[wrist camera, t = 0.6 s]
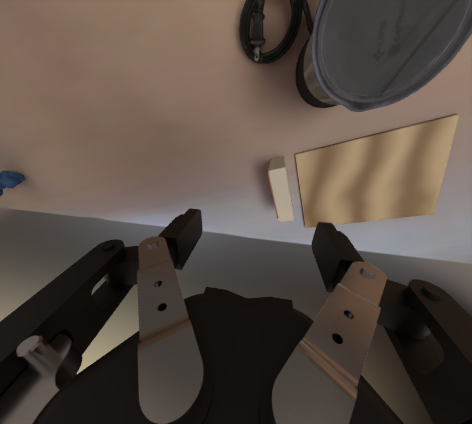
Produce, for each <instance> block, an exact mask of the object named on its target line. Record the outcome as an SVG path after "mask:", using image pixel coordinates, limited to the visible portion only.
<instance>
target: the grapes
mask: <svg viewBox="0 0 472 424" xmlns="http://www.w3.org/2000/svg"><path fill="white" fill-rule="evenodd" d="M23 180H24V176H22V175H20V174H17V173H13V172H8V171H2V172H1V173H0V196H1V195H2V194H3V189H4V188H6V187H8V188H14V187H15V186H16V185H17V184H20V183H21V182H22V181H23Z"/></svg>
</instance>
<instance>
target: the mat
mask: <svg viewBox="0 0 472 424" xmlns="http://www.w3.org/2000/svg"><path fill="white" fill-rule="evenodd" d="M458 118H459V114H455V115H451V116H446V117H442V118H438V119H434V120H430V121H426V122H422V123H418V124H414V125H410V126H406V127H402V128H398V129H394V130H390V131H386V132H382V133H378V134H374V135H370V136H366V137H361V138H357V139H353V140H349V141H345V142H341V143H337V144H333V145H329V146H325V147H321V148H317V149H313V150H309V151H305V152H301V153H297V154H295V156H296V163H297V171H298V178H299V185H300V192H301V200H302V207H303V214H304V221H305V228H310V227H317V224H318V222H328V223H332V224H333V225H338V224H347V223H356V222H365V221H374V220H383V219H392V218H401V217H410V216H420V215H429V214H434V212H435V208H436V204H437V200H438V197H439V193H440V189H441V185H442V181H443V177H444V173H445V169H446V165H447V161H448V157H449V153H450V149H451V145H452V141H453V137H454V133H455V129H456V125H457V122H458Z"/></svg>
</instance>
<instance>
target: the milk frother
mask: <svg viewBox="0 0 472 424" xmlns="http://www.w3.org/2000/svg"><path fill="white" fill-rule="evenodd" d="M264 3H265V0H246V2H245V5H244V8H243V11H242V14H241V19H240V40H241V44H242V47H243V49H244V51H245V53H246V55H247V56H248V57H249V58H250V59H252V60H253V61H255V62H257V63H261V64H262V63H271V62H274V61H276V60H277V59H279V58H280V57H281V56H282V55H283V54H285V53H286V51H287V50H288V49H289V48H290V46H291V45H292V43H293V42H294V40H295V37H296V36H297V33H298V29H299V26H300V23H301V17H302V11H304V14H305V18H306V23H307V27H308V30H309V33H310V35H311V36H310V37H309V39H308V40H307V42H306V43H305V45H304V47H303V48H302V50H301V53H300V55H299V58H298V62H297V66H296V85H297V88H298V91H299V93H300V95H301V97H302V98H303V99H304V100H305V101H306V102H307V103H309V104H310V105H312V106H315V107H319V108H327V107H333V106H336V105H343V106H345V107H346V108H348V109H349V110H351V111H355V112H363V111H366V110H370V109H375V108H379V107H383V106H387V105H390V104H393V103H396V102H398V101H400V100H402V99H404V98H406V97H408V96H409V95H411V94H413V93H415V92H416V91H418V90H419V89H420V88H422V87H423V86H425V85H426V84H427V83H428V82H430V81H431V80H432V79H433V78H435V77H436V76H437V75H438V74H439V73H440V72H441V71H442V70H443V69H444V68H445V67H446V66H447V65H448V64H449V63H450V62H451V61H452V60H453V59H454V57H455V56H456V55H457V53H458V52H459V51H460V50H461V48H462V46H463V45H464V43H465V42H466V41H467V39H468V38H469V37H470V35H471V34H472V0H320V3H319V6H318V9H317V11H316V15H315V21H314V24H313V21H312V18H311V14H310V11H309V7H308V4H307V1H306V0H290V4H291V9H292V17H291V23H290V26H289V29H288V31H287V34H286V35H285V37H284V39H283V40H282V42H281V43H280V44H279V45H278V46H277V47H276V48H275V49H274V50H272V51H270V52H267V53H261V51H260V47H261V45H262V44H265V38H263V19H264V18H265V15H264V14H263V7H264ZM254 12H255V15H253V13H254ZM252 17H253V19H254V27H253V38H251V39H250V34H249V31H250V23H251V18H252Z"/></svg>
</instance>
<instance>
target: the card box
mask: <svg viewBox="0 0 472 424" xmlns="http://www.w3.org/2000/svg"><path fill="white" fill-rule="evenodd" d="M267 174H268V179H269V183H270V188H271V192H272V197H273V201H274V206H275V210H276V215H277V218H279V222H283V221H291V220H294V215H293V207H292V200H291V194H290V188H289V182H288V176H287V170H286V164H285V158H284V157H280V158H276V159H272V160H270V164H269V168H268V173H267Z"/></svg>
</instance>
